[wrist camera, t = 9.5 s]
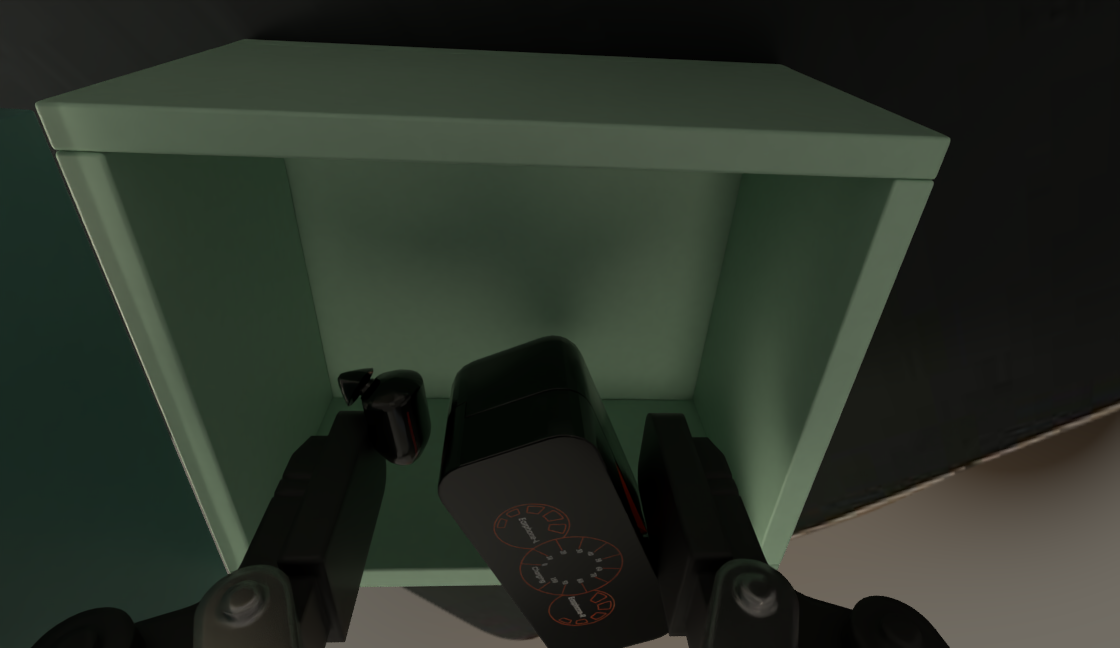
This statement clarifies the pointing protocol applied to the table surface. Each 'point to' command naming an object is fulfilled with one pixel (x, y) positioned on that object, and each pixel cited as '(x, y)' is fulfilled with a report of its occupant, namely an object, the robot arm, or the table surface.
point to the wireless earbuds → (533, 487)
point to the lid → (78, 427)
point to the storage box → (489, 253)
